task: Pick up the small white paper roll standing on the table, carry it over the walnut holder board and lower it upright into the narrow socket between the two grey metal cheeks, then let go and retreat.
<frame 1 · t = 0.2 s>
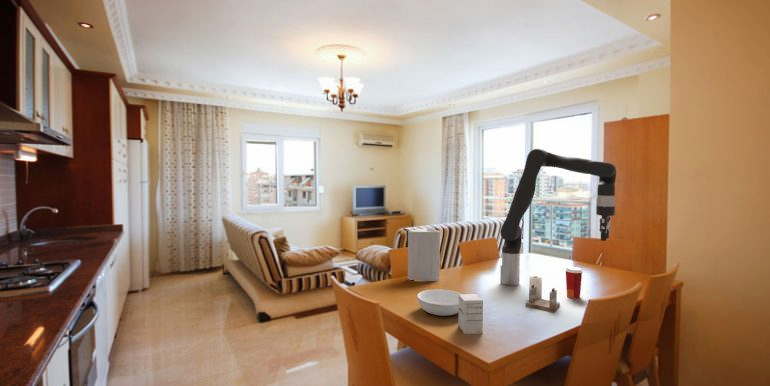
hand: (604, 239, 172), 29 cm above the table, fingers open, 8 cm apart
paper cup: (573, 297, 177), on the table
serving bowl: (441, 312, 157), on the table
holder: (542, 305, 164), on the table
supplement box: (470, 330, 138), on the table
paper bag: (427, 279, 210), on the table
roll: (535, 297, 176), on the table
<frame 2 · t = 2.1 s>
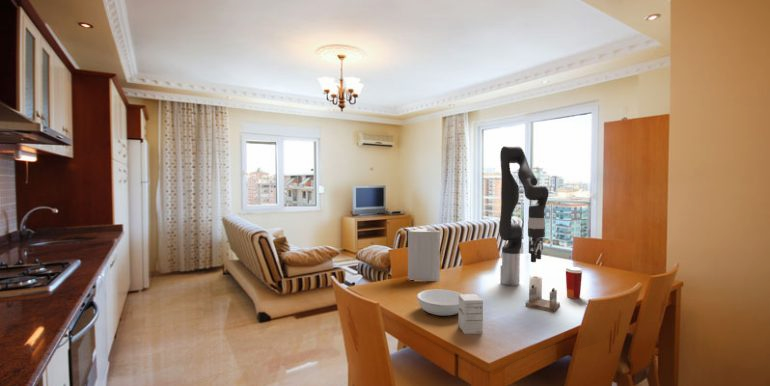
hand: (536, 260, 175), 18 cm above the table, fingers open, 8 cm apart
nothing on the table moved.
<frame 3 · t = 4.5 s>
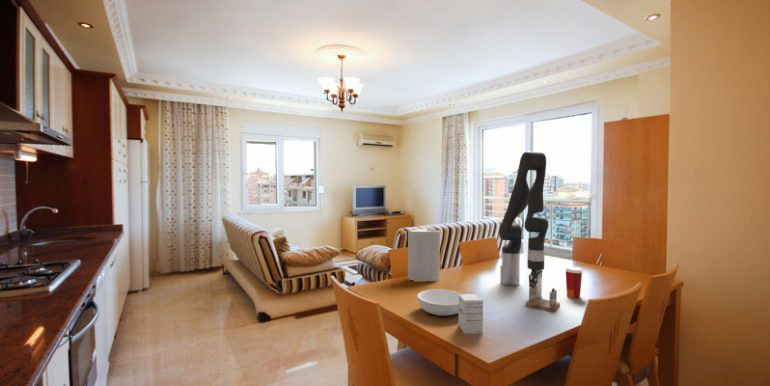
hand: (535, 293, 176), 2 cm above the table, fingers closed on roll, 5 cm apart
roll: (535, 297, 176), on the table, touching gripper
everything else where it was.
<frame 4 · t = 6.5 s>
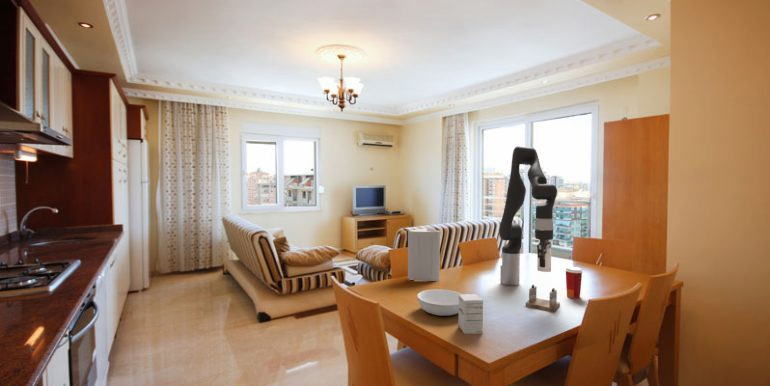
hand: (544, 265, 164), 18 cm above the table, fingers closed on roll, 5 cm apart
roll: (544, 270, 164), point 16 cm above the table, touching gripper
everything else where it was.
when the fingers open (4 cm above the table, at t = 9.0 s): roll stays where it is, resting on holder.
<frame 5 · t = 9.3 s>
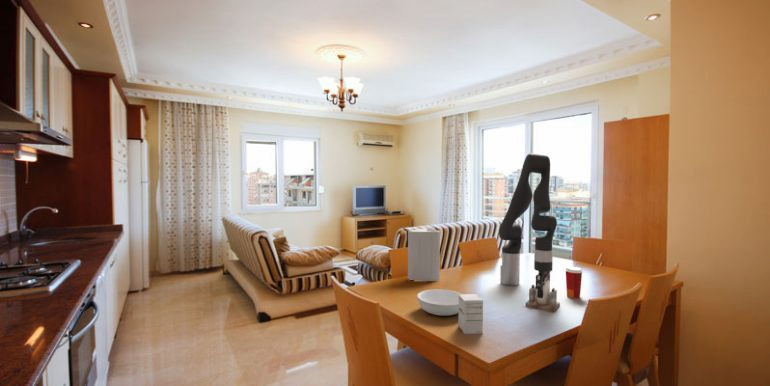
hand: (542, 295, 164), 5 cm above the table, fingers open, 8 cm apart
roll: (542, 302, 164), point 2 cm above the table, touching holder
everything else where it was.
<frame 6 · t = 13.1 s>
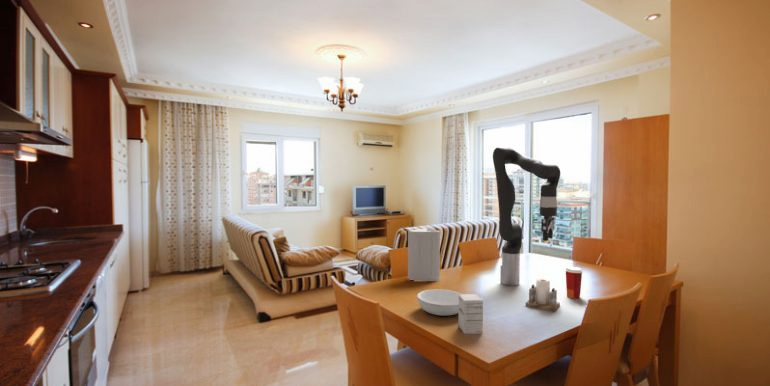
hand: (547, 239, 176), 28 cm above the table, fingers open, 8 cm apart
nothing on the table moved.
at the end: roll 0.1 cm off-centre on the holder, point 1.5 cm above the holder's base; roll tilted 1°; the gripper is holding nothing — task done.
